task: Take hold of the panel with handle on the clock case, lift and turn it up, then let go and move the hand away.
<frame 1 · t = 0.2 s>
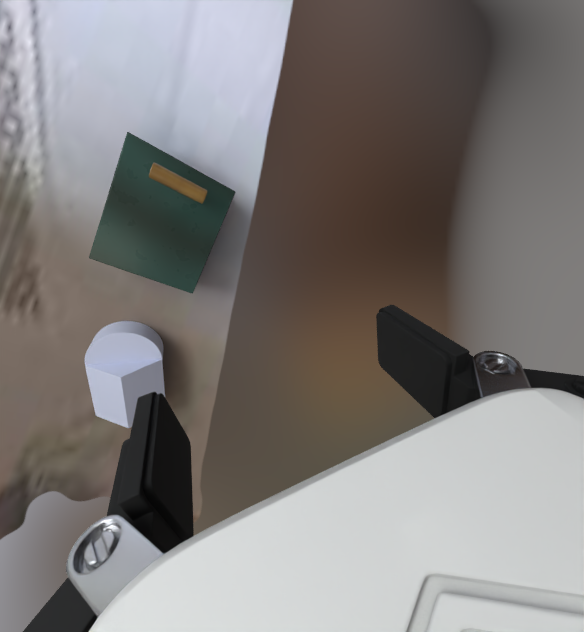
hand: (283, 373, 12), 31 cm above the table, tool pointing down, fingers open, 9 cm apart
panel with handle: (163, 226, 30), point 7 cm above the table, hinge at 0.0°
tape dispenser: (130, 359, 42), on the table
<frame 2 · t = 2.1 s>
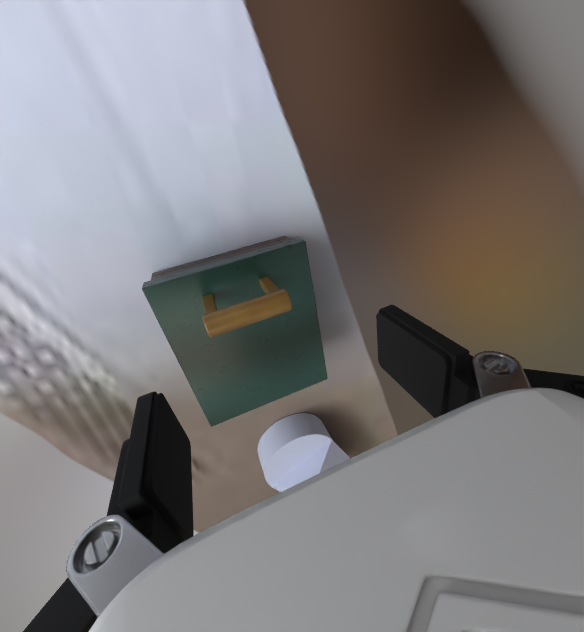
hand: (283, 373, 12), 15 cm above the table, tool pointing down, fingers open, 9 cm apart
clock case: (242, 318, 26), on the table
panel with handle: (258, 354, 21), point 7 cm above the table, hinge at 0.0°
tape dispenser: (299, 445, 37), on the table
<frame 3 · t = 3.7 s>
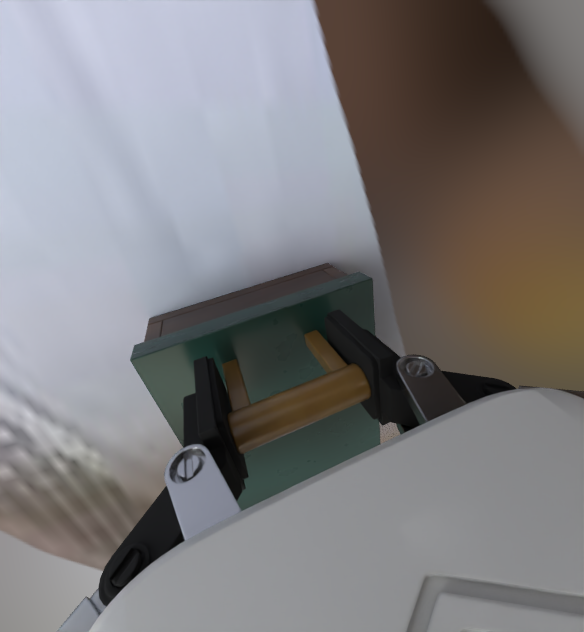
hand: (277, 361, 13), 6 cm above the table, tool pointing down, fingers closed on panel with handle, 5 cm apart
clock case: (268, 368, 20), on the table
panel with handle: (301, 440, 14), point 7 cm above the table, hinge at 0.0°, touching gripper
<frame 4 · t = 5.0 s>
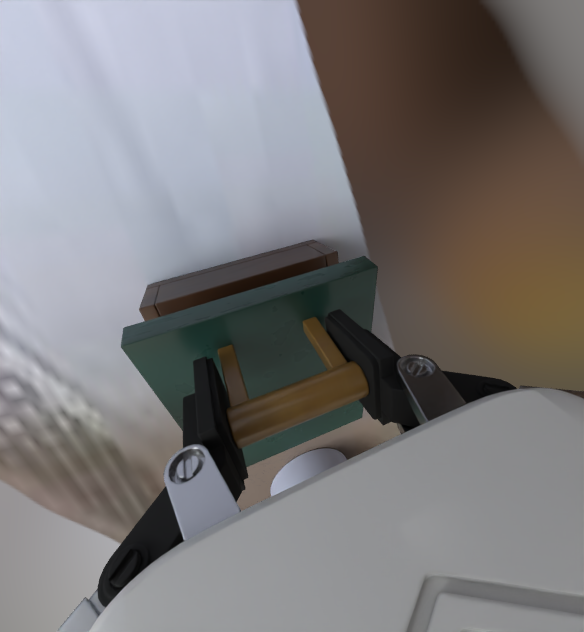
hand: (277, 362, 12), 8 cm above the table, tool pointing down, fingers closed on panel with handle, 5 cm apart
clock case: (257, 339, 21), on the table
panel with handle: (292, 418, 15), point 8 cm above the table, hinge at 12.3°, touching gripper
tape dispenser: (318, 484, 32), on the table
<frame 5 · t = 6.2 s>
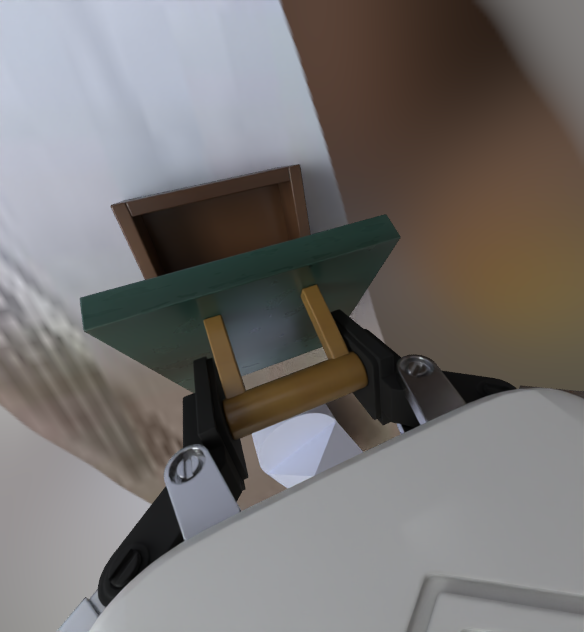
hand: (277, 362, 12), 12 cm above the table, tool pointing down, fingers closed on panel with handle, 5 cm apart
clock case: (232, 268, 23), on the table
panel with handle: (274, 367, 15), point 10 cm above the table, hinge at 40.0°, touching gripper
tape dispenser: (299, 430, 33), on the table
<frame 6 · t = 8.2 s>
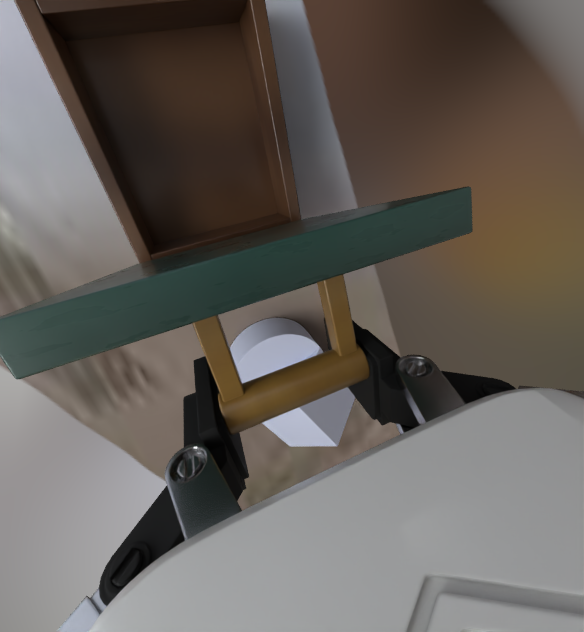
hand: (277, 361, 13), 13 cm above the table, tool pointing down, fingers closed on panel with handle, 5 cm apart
clock case: (192, 145, 19), on the table
panel with handle: (255, 300, 13), point 11 cm above the table, hinge at 79.3°, touching gripper
tape dispenser: (281, 367, 30), on the table
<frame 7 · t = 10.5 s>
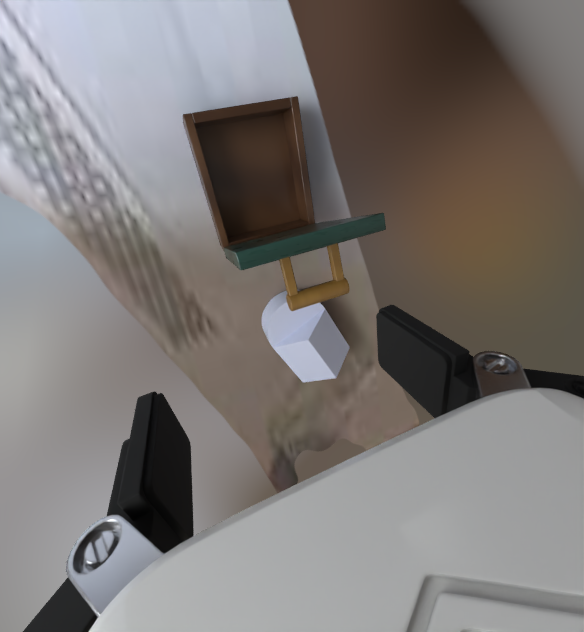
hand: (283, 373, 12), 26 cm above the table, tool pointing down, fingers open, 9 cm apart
clock case: (251, 179, 32), on the table
panel with handle: (294, 263, 26), point 11 cm above the table, hinge at 79.8°
tape dispenser: (297, 326, 43), on the table
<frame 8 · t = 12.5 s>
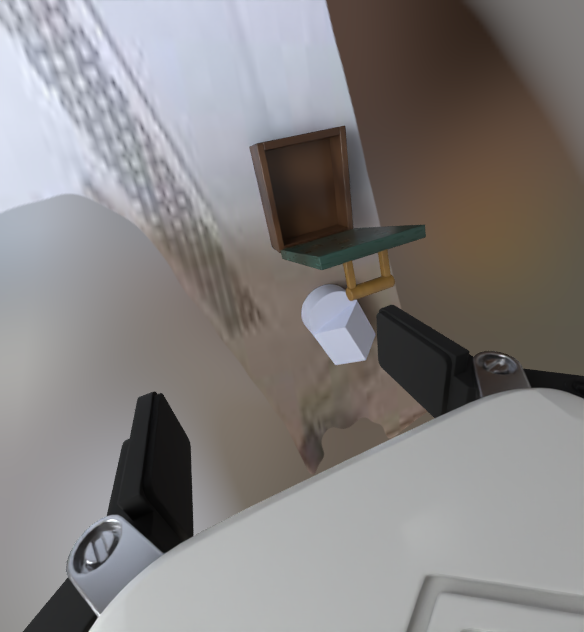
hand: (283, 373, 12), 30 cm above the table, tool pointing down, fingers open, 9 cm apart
clock case: (300, 191, 39), on the table
panel with handle: (345, 263, 33), point 11 cm above the table, hinge at 79.8°
tape dispenser: (330, 316, 49), on the table
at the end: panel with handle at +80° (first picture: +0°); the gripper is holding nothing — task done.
